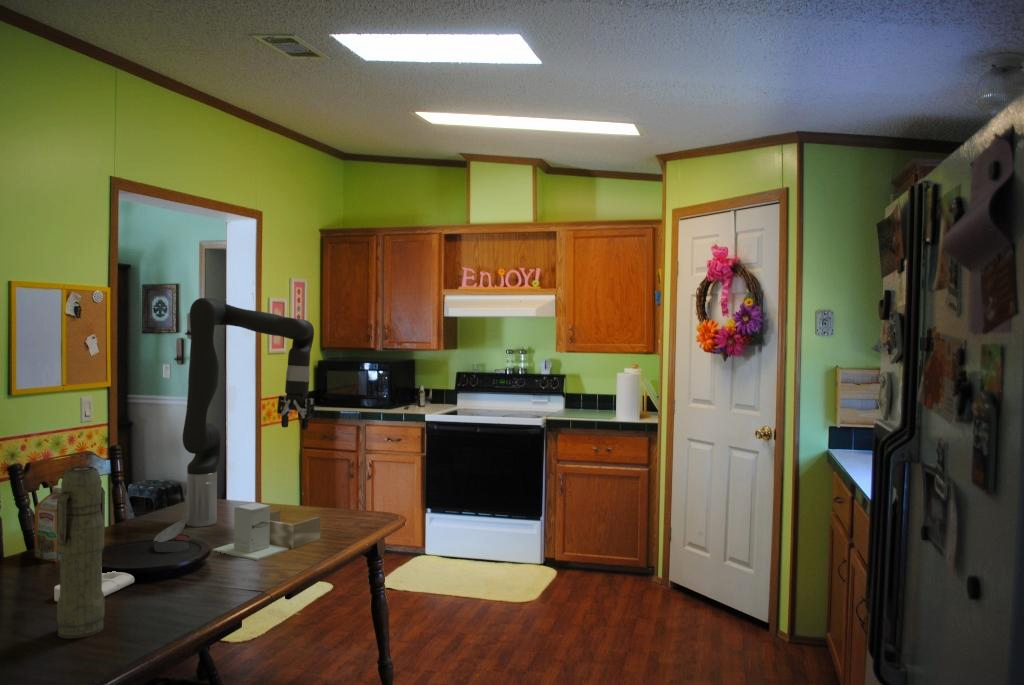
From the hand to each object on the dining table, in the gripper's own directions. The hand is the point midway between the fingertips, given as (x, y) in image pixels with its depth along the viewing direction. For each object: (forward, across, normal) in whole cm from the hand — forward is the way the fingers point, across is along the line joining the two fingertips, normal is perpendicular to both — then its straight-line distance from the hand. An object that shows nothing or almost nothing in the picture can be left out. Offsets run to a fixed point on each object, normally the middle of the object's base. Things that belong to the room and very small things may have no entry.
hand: (294, 428), depth 253 cm
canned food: (+35, -12, -35) cm, 51 cm away
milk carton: (+37, -32, -55) cm, 73 cm away
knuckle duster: (+37, +3, -69) cm, 78 cm away
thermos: (+37, +26, -86) cm, 97 cm away
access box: (+33, +10, -11) cm, 36 cm away
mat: (+34, +10, -25) cm, 43 cm away
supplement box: (+33, +10, -25) cm, 43 cm away
